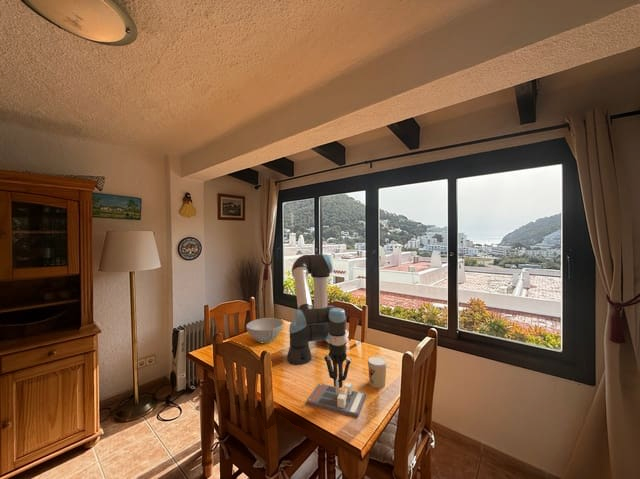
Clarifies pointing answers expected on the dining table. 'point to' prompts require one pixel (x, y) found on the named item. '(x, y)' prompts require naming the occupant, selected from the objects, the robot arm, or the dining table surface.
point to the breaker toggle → (343, 391)
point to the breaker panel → (337, 399)
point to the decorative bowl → (264, 329)
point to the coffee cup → (377, 372)
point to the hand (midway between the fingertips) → (338, 393)
